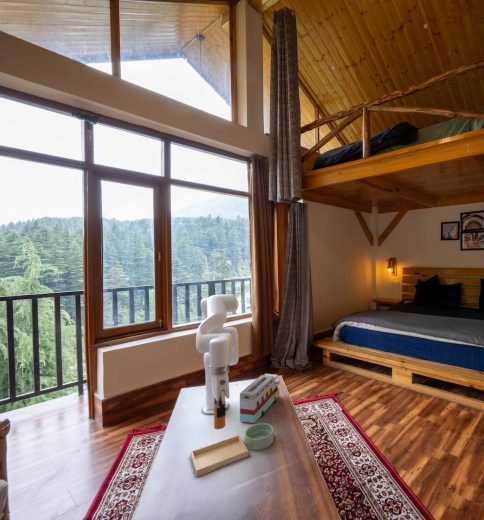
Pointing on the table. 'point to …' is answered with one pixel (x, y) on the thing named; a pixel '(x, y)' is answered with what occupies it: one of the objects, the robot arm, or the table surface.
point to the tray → (218, 455)
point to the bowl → (259, 436)
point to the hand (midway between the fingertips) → (219, 413)
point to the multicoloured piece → (258, 397)
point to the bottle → (218, 419)
